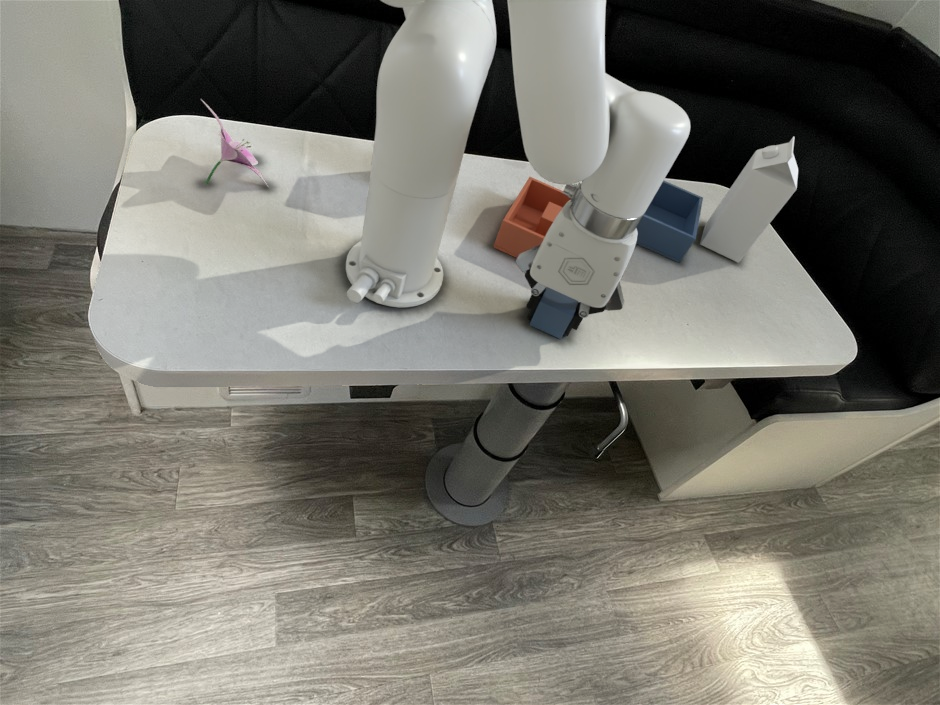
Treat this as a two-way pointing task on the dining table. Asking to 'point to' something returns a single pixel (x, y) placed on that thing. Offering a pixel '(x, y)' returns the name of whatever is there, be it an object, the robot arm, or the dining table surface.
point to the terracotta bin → (527, 217)
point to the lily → (233, 151)
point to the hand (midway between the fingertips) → (550, 319)
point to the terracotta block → (547, 218)
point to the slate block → (554, 313)
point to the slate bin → (670, 222)
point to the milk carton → (752, 201)
